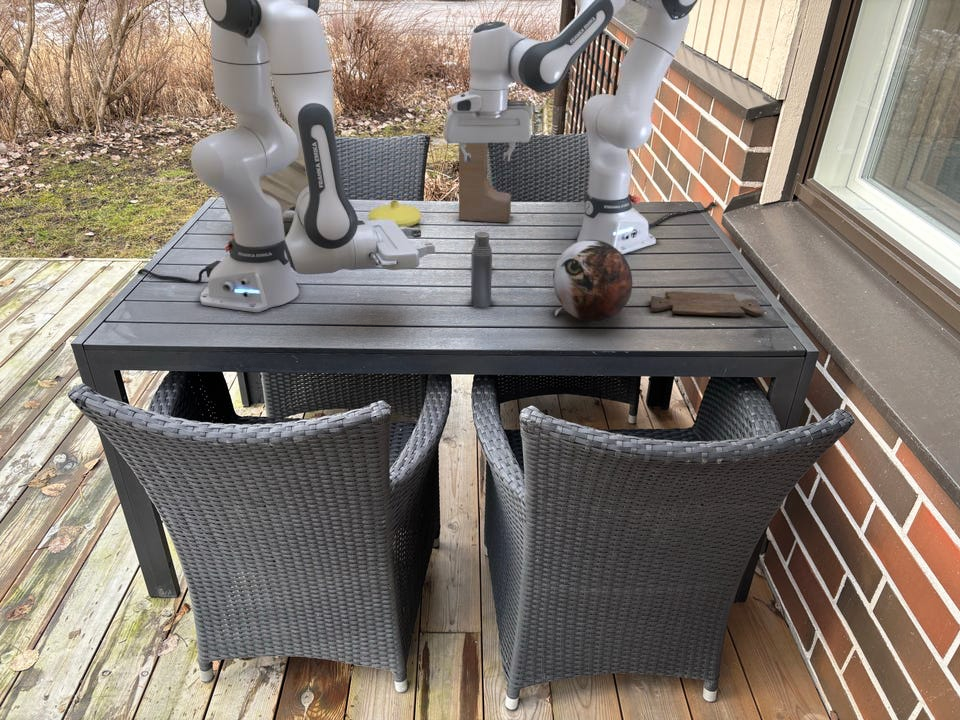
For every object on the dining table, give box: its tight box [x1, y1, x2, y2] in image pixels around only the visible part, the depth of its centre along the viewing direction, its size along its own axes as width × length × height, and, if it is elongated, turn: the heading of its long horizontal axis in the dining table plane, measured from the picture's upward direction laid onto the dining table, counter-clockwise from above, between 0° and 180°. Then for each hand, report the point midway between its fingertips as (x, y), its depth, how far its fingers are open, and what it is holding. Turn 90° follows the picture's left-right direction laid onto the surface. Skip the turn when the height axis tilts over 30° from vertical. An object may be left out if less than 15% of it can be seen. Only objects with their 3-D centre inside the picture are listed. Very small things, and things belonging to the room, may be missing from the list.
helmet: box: [224, 141, 308, 216], centre depth 198 cm, size 27×30×30 cm
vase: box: [367, 199, 423, 228], centre depth 210 cm, size 16×16×7 cm
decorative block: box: [458, 143, 512, 224], centre depth 210 cm, size 8×15×30 cm, turn 82°
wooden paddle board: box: [650, 291, 765, 317], centre depth 167 cm, size 26×2×10 cm
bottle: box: [470, 231, 493, 309], centre depth 163 cm, size 5×5×17 cm
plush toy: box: [552, 240, 633, 323], centre depth 159 cm, size 22×18×20 cm
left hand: (426, 239), depth 155 cm, fingers open, 8 cm apart
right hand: (487, 161), depth 170 cm, fingers open, 8 cm apart
